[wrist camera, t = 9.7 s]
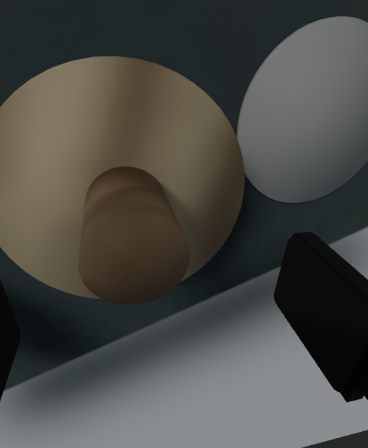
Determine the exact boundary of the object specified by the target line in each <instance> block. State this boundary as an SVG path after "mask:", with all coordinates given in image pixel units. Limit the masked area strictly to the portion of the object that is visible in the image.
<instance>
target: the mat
mask: <svg viewBox="0 0 368 448" xmlns="http://www.w3.org/2000/svg"><path fill="white" fill-rule="evenodd" d="M236 137H237V140H238V143H239V146H240V149H241V152H242V158H243V163H244V173H245V175H246V177H247V178H248V180H249V181H250V182H251V184H252V185H253V186H254V187H255V188H256V189H257V190H258V191H260V192H261V193H262V194H264V195H265V196H267V197H269V198H271V199H273V200H276V201H280V202H286V203H301V202H307V201H311V200H315V199H318V198H320V197H323V196H325V195H327V194H329V193H331V192H333V191H334V190H336V189H337V188H339V187H340V186H342V185H343V184H344V183H346V182H347V181H348V180H350V179H351V178H352V177H353V176H354V175H355V174H356V173H357V172H358V171H359V170H360V169H361V168H362V167H363V166H364V164H365V163H366V162H367V161H368V23H367V22H365V21H362V20H360V19H357V18H352V17H332V18H326V19H321V20H318V21H315V22H313V23H310V24H308V25H306V26H304V27H302V28H300V29H298V30H296V31H295V32H294V33H292V34H291V35H290V36H288V37H287V38H285V39H284V40H283V41H282V42H281V43H280V44H279V45H278V46H277V47H276V48H274V50H273V51H272V52H271V53H270V54H269V55H268V57H267V58H266V59H265V60H264V61H263V63H262V64H261V66H260V67H259V69H258V70H257V72H256V73H255V75H254V77H253V79H252V81H251V82H250V84H249V86H248V89H247V91H246V94H245V96H244V98H243V102H242V105H241V108H240V112H239V118H238V123H237V136H236Z"/></svg>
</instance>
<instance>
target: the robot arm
mask: <svg viewBox="0 0 368 448" xmlns="http://www.w3.org/2000/svg"><path fill="white" fill-rule="evenodd" d="M274 300H275V302H276V304H277V306H278V307H279V309H280V310H281V312H282V313H283V315H284V316H285V318H286V319H287V321H288V322H289V323H290V325H291V327H292V328H293V330H294V331H295V333H296V334H297V336H298V337H299V338H300V340H301V341H302V343H303V344H304V346H305V347H306V349H307V350H308V352H309V353H310V355H311V356H312V358H313V359H314V361H315V362H316V364H317V365H318V367H319V368H320V370H321V371H322V373H323V374H324V375H325V377H326V378H327V380H328V382H329V383H330V384H331V386H332V387H333V388H334V390H336V391H337V392H340V393H341V395H342V396H343V398H344V399H345V401H346V402H350V401H354V400H358V399H362V398H363V396H365V397H366V399H367V400H368V280H367V279H366V278H365V277H364V276H363V275H362V274H360V273H359V272H358V271H357V270H356V269H355V268H354V267H352V266H351V265H350V264H349V263H348V262H347V261H345V260H344V259H343V258H342V257H341V256H340V255H338V254H337V253H336V252H335V251H334V250H333V249H331V248H330V247H329V246H328V245H327V244H326V243H324V242H323V241H322V240H321V239H320V238H319V237H317V236H316V235H315V234H314V233H312V232H302V233H295V234H293V236H292V238H290V239H289V240H288V242H287V246H286V250H285V254H284V258H283V261H282V265H281V269H280V273H279V277H278V281H277V285H276V288H275V292H274ZM19 342H20V331H19V328H18V325H17V323H16V320H15V317H14V315H13V312H12V309H11V307H10V304H9V302H8V299H7V296H6V294H5V291H4V289H3V286H2V283H1V281H0V400H1V397H2V394H3V391H4V388H5V385H6V382H7V379H8V376H9V373H10V370H11V367H12V364H13V360H14V357H15V354H16V351H17V348H18V345H19ZM303 448H368V430H366V431H363V432H359V433H355V434H351V435H348V436H344V437H340V438H336V439H333V440H329V441H325V442H321V443H318V444H314V445H310V446H307V447H303Z"/></svg>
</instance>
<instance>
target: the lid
mask: <svg viewBox="0 0 368 448" xmlns="http://www.w3.org/2000/svg"><path fill="white" fill-rule="evenodd" d="M244 184H245V176H244V163H243V158H242V152H241V149H240V146H239V143H238V140H237V137H236V135H235V133H234V131H233V129H232V127H231V124H230V122H229V121H228V119H227V118H226V116H225V115H224V113H223V112H222V111H221V109H220V108H219V107H218V105H217V104H216V103H215V102H214V101H213V100H212V99H211V98H210V97H209V96H208V95H207V94H206V93H205V92H204V91H203V90H201V89H200V88H199V87H198V86H197V85H195V84H194V83H193V82H191V81H190V80H188V79H186V78H185V77H183V76H182V75H180V74H178V73H177V72H174V71H172V70H170V69H167V68H165V67H163V66H160V65H158V64H155V63H151V62H147V61H143V60H140V59H134V58H126V57H117V56H110V57H91V58H86V59H80V60H75V61H70V62H67V63H65V64H62V65H59V66H56V67H53V68H50V69H49V70H47V71H45V72H43V73H41V74H39V75H37V76H36V77H34V78H32V79H30V80H29V81H28V82H27V83H25V84H24V85H23V86H21V87H20V88H19V89H18V90H16V91H15V92H14V93H13V94H12V95H11V96H10V97H9V98H8V99H7V100H6V102H5V103H4V104H3V105H2V106H1V107H0V247H1V248H2V249H3V250H4V252H5V253H6V254H7V255H8V256H9V257H10V258H11V259H12V260H13V261H14V262H15V263H16V264H17V265H18V266H19V267H21V268H22V269H23V270H24V271H26V272H27V273H29V274H30V275H31V276H33V277H34V278H36V279H38V280H40V281H42V282H43V283H45V284H47V285H49V286H51V287H54V288H56V289H59V290H61V291H64V292H67V293H71V294H74V295H78V296H83V297H89V298H97V299H104V300H106V301H109V302H112V303H117V304H140V303H145V302H148V301H152V300H154V299H157V298H159V297H161V296H163V295H165V294H166V293H168V292H169V291H170V290H172V289H173V288H174V287H175V286H176V285H177V284H178V283H179V282H181V281H183V280H185V279H186V278H188V277H189V276H191V275H192V274H194V273H195V272H197V271H198V270H199V269H200V268H202V267H203V266H204V265H205V264H206V263H207V262H208V261H209V260H210V259H211V258H212V257H213V256H214V255H215V254H216V253H217V252H218V250H219V249H220V248H221V247H222V246H223V244H224V243H225V241H226V239H227V238H228V236H229V235H230V233H231V231H232V229H233V227H234V225H235V223H236V221H237V218H238V215H239V212H240V209H241V205H242V200H243V195H244Z"/></svg>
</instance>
